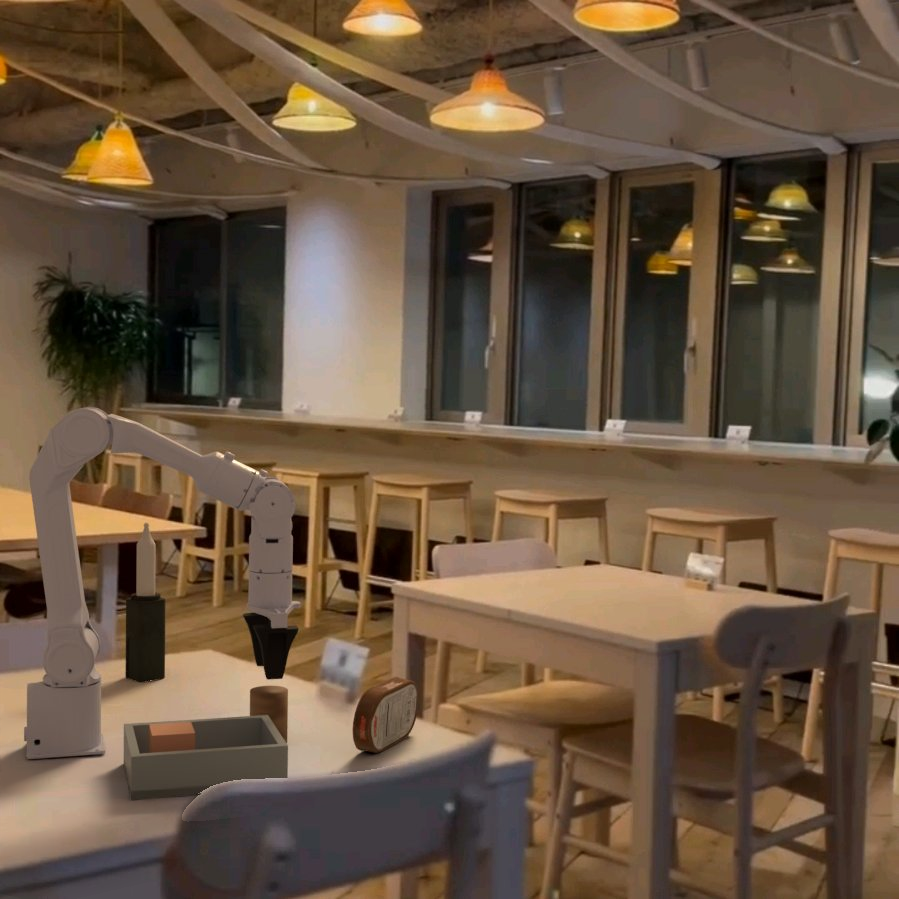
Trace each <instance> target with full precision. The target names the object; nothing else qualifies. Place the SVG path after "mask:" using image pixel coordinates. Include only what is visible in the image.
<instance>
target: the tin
mask: <svg viewBox="0 0 899 899" xmlns="http://www.w3.org/2000/svg"><path fill="white" fill-rule="evenodd" d="M418 703H419V689H418V686H417V683H415V682H414V681H413V680H411V679H406V678H402V677H399V676H393V677H391V678H389V679H386V680H384V681H382V682H380V683H377V684H375V685H372V686H370V687H368V688H367V689H366V690H365V691H364V692H363V693H362V695H361V697H360V698H359V700H358V703H357V706H356V708H355V712H354V716H353V721H352V741H353V743H354V744H353V745H354V746H355V748H356V749H357V750H358V751H362V752H363V751H364V752H370V753H373V754H378V753H379V754H380V753H382V752H383V751H385V750H387V749H389V748H391V747H392V746H394V745H396V744H398V743H401V741H404V740H405V739H406V738H407V737H408V736H409V735H410V734H411V732H412V730H413V728H414V726H415V722H416V720H417V714H418V712H417V711H418Z"/></svg>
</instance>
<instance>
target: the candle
mask: <svg viewBox="0 0 899 899" xmlns="http://www.w3.org/2000/svg"><path fill="white" fill-rule="evenodd" d="M143 527H144V528H143V531H142V534H141V537H140V538H139V540H138V542H137V543H136V592H134V593H131V595H130V597H126V599H125V675H124V676H125V679H127V678H129V680H131V679H132V680H131V681H134V680H136V681H138V682H137V683H146V682H145V681H148V682H151V681H150V680H153V681H157V680H158V681H159V680H162V679H165V677H166V676H165V675H166V598H164V597H161V593H158V592H156V558H157V557H156V552H157V551H156V543H155V541H154V539H153V537H152V535H151V532H150V528H149V527H150V524H149V523H148V522H144V524H143ZM136 681H135V682H136Z"/></svg>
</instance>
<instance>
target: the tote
mask: <svg viewBox="0 0 899 899" xmlns="http://www.w3.org/2000/svg"><path fill="white" fill-rule="evenodd" d="M181 722H191V723H192V726H193V729H194V731H195V750H184V751H170V752H156V753H149V724H165V723H181ZM288 762H289V745H288V742H287V743H286V742H285V740H284V739H283V737H282V736H281V734H280V733H279V731H278V730H277V728H276V727H275V725H274V724H273V722H272V721H271V719H270V717H269V716H268V715H259V716H250V715H248V716H247V715H246V716H231V717H213V718H197V719H183V720H168V721H151V722H150V721H149V722H137V723H136V722H135V723H133V722H132V723H123V767H124V773H125V778H126V781H127V788H128V792H129V798H130V801H132V800H135V801H137V800H147V799H158V798H159V799H160V798H173V797H185V796H197V795H196V794H198V793H200V792H202V791H203V790H205V789H207V788H209V787H210V786H213V785H216V784H220V783H223V782H228V781H233V780H241V779H265V778H288V774H289V772H288V769H289V768H288V767H289V763H288ZM288 779H289V778H288Z"/></svg>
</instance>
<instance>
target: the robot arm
mask: <svg viewBox="0 0 899 899" xmlns="http://www.w3.org/2000/svg"><path fill="white" fill-rule="evenodd" d="M110 446H111V447H110ZM109 447H110V448H111V451H110V453H111V454H123V453H125V454H126V453H127V454H128V453H136V454H138V455H141V456H143V457H146V458H148V459H151V460H152V461H155V462H157V463H160V464H162V465H165V466H166V467H168V468H171V469H173V470H175V471H178V472H181V473H182V474H184V475H186V476H189V477H192V480H193V483H194V486H195V489H196V491H197V492H199V493H202V494H204V495H205V496H208V497H210V498H212V499H214V500H215V501H218V502H221V503H223V504H225V505H227V506H228V507H231V508H233V509H235V510H237V511H239V512H242V511H250V514H251V524H250V527H251V530H250V534H249V537H248V546H249V547H248V552H249V553H248V595H247V596H248V602H247V603H246V610H247V611H248V612H246V613H245V612H244V613H242V617H243V619H244V621H245V624H246V626H247V628H248V631H249V634H250V639H251V643H252V650H253V655H254V660H255V664H256V667H263V671H264V676H265V679H266V680H268V681H270V680H282V679H283V678H284V674H285V672H286V667H287V664H288V663H287V662H288V657H289V653H290V651H291V647H292V645H293V642H294V640H295V638H296V636H297V635H298V632H299V626H297V625H288V618H289V617H288V616H289V614H290V613H292V611H293V610H294V609H295V610H296V609H301V607H302V603H301V601H298V600H293V562H294V561H293V555H294V553H293V552H294V546H293V545H294V537H293V535H292V530H293V521H292V517H293V516H294V514H295V511H296V506H297V503H295V498H294V494H293V492H292V491H291V490H290V488H289V486H287V485H286V483H284V482H283V481H282V480H280V479H279V478H277V477H275V476H268V475H269V472H268V471H267V470H264V469H262V468H261V469H260V471H258V470H256V469H255V468H252V467H251V466H248V465H246V464H244V463H242V462H240V461H237V460H236V459H235V458H236V455H235V454H234V453H232V452H230V451H225V453H224V454H223V453H221V452H219V451H213V452H210V453H207V454H204V455H202V454H200V453H198V452H196V451H194V450H193V449H190V448H189V447H186V446H185V445H183V444H181V443H179V442H177V441H175V440H173V439H171V438H169V437H167V436H165V435H163V434H162V433H159V432H157V431H156V430H153V429H152V428H150V427H148V426H145V425H144V424H142V423H140V422H138V421H135V420H133V419H129V418H126V417H123V416H120V415H117V414H114V413H110V414H108V413H107V412H106V411H104V410H102V409H101V408H98V407H94V406H85V407H82V408H81V407H80V408H77V409H73V410H71V411H69V412H67V413H66V414H65V415H64V416H63V417H61V419H59V421H58V422H56V423H55V424H54V425H53V426H52V427H51V428H50V429H49V431H48V434H47V437H46V439H45V441H44V442H43V445H42V446H41V448H40V451H39V452H38V454H37V457H36V458H35V460H34V462H33V464H32V466H31V468H30V470H29V476H28V478H29V486H30V494H31V501H32V508H33V515H34V522H35V530H36V538H37V544H38V552H39V559H40V560H39V561H40V567H41V568H40V569H41V574H42V582H43V589H44V595H45V596H44V597H45V603H46V611H47V613H46V635H47V637H46V639H47V644H46V648H45V650H44V652H43V656H42V665H43V666H42V667H43V669H44V672H45V674H44V675H43V677H42V681H37V682H29V683H27V684H26V726H24V727H23V735H24V736H23V741H24V742H26V759H27V760H35V759H36V760H37V759H48V758H62V757H63V758H65V757H78V756H80V757H81V756H90V755H91V756H93V755H102V754H105V753H106V747H105V742H104V735H103V733H102V674H101V673H100V672H99V671H98V670H97V668H96V667H95V664H96V660H97V658H98V656H99V654H100V652H101V639H100V636H99V634H98V632H97V631H96V630H95V629H94V627H93V626H92V623H91V620H90V613H89V610H88V606H87V603H86V598H85V591H84V583H83V576H82V568H81V561H80V554H79V553H80V552H79V548H78V540H77V532H76V523H75V517H74V516H75V515H74V510H73V503H72V493H71V487H70V483H71V482H72V480H73V479H74V478H75V476H77V474H78V473H79V472H80V471H81V469H82V468H83V467H84V466H85V464H86V463H87V462H89V461H91V460H93V459H94V458H96V457H97V456H98V455H100V454H101V453H102V452H104V451H105V450H107V449H108V448H109Z"/></svg>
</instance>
